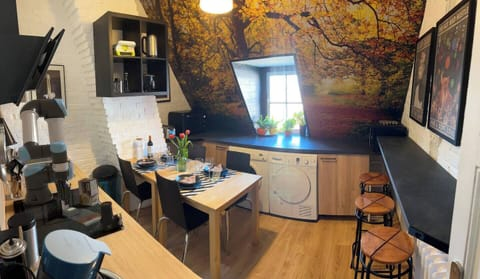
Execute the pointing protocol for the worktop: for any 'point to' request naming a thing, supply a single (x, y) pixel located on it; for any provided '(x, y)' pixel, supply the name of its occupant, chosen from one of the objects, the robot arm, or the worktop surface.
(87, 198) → the coffee box
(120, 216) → the scope
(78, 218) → the panel
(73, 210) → the block
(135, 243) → the worktop surface
